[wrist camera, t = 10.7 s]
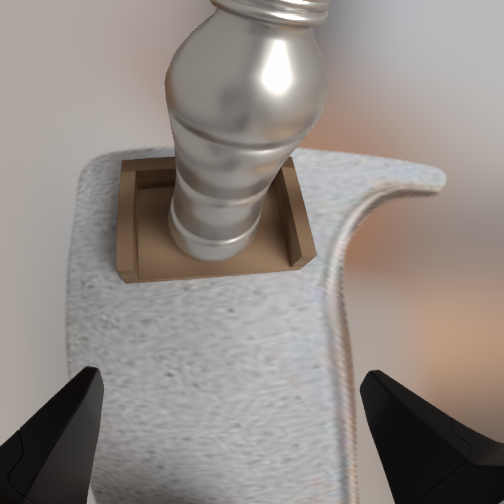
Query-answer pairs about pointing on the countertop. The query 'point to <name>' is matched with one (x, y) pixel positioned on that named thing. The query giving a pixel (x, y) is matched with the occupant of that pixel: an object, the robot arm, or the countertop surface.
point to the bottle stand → (170, 255)
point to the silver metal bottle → (239, 116)
